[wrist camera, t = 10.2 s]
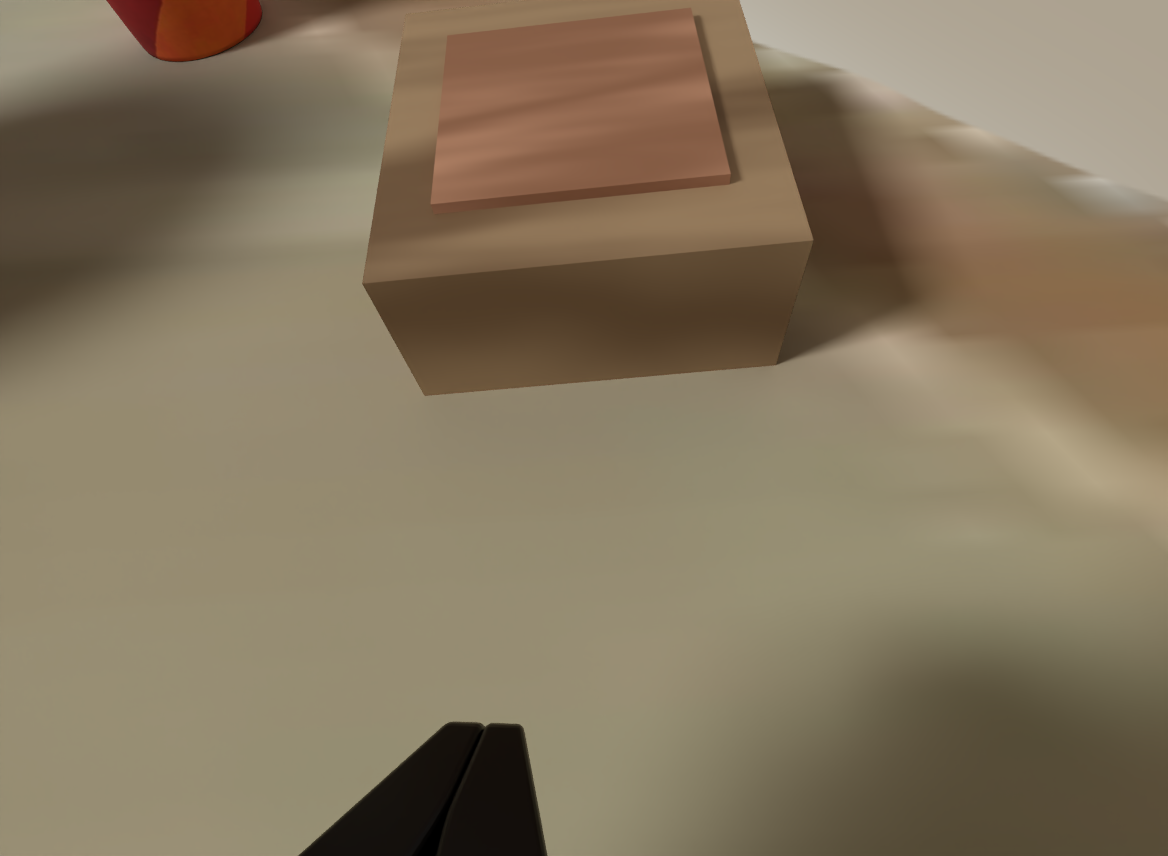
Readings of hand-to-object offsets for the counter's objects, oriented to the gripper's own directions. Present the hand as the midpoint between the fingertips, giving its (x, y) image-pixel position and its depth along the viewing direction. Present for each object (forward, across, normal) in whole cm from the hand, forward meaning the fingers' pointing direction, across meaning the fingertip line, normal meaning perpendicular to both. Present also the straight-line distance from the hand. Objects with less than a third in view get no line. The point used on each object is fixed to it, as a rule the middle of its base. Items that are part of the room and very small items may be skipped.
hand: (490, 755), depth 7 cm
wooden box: (+11, 0, -3) cm, 11 cm away
